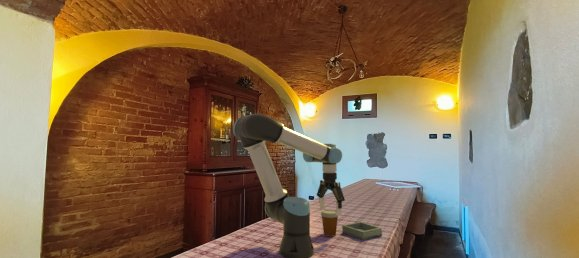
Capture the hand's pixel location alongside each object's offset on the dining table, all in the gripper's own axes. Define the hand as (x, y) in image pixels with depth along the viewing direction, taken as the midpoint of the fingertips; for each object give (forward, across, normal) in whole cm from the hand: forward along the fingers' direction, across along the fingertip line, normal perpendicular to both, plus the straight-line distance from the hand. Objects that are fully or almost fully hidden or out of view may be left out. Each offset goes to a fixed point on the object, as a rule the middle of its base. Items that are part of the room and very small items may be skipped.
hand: (330, 212), depth 157 cm
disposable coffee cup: (+12, 0, +1) cm, 12 cm away
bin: (+12, -8, -14) cm, 21 cm away
